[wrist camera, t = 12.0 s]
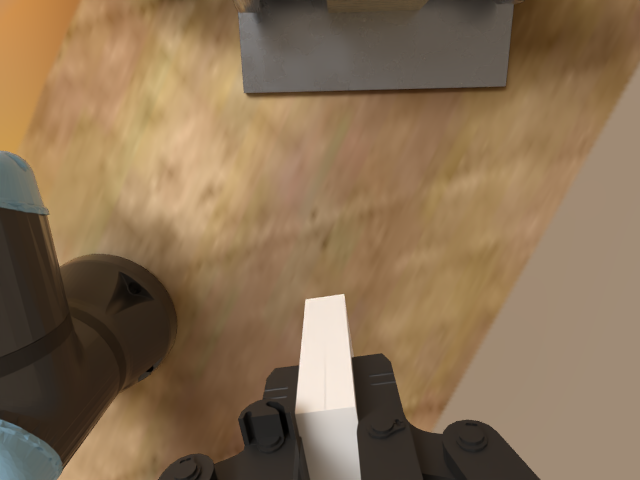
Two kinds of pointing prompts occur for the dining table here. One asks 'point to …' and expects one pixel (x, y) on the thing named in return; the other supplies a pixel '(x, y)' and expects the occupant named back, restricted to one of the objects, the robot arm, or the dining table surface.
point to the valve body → (373, 44)
